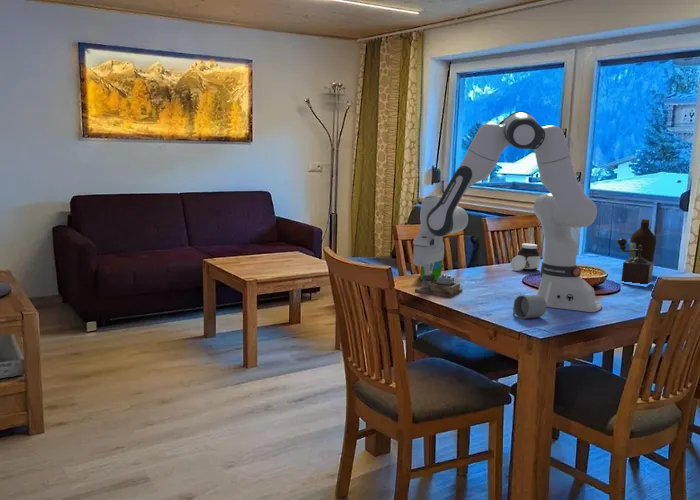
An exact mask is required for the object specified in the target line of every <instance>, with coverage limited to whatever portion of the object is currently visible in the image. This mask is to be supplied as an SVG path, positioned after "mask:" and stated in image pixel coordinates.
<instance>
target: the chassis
mask: <svg viewBox="0 0 700 500" xmlns="http://www.w3.org/2000/svg"><path fill="white" fill-rule="evenodd" d="M415 292H416V293H419V292H421V294H425V293H426V294H427V295H431V294H433V296H437V295H439V296H438V297H443V296H444V297H445V298H449V297H450V298H452V297H455V296H456V295H459V294H460V293H462V292H463V289H462V288H461V283H458V282H454V285H453V286H445V285H439V284H437V280H434V281H426V280H422V281H421V286H419V287H416V288H415V289H414V293H415ZM444 297H443V298H444Z"/></svg>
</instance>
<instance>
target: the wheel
mask: <svg viewBox="0 0 700 500" xmlns="http://www.w3.org/2000/svg"><path fill="white" fill-rule="evenodd" d="M422 279H423V280H426V281H434V282H435V281H436V280H435V275H432V274H431V275H425V274H423V276H422Z"/></svg>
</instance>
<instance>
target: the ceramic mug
mask: <svg viewBox="0 0 700 500" xmlns="http://www.w3.org/2000/svg"><path fill="white" fill-rule="evenodd" d="M513 302H514V303H513V307H512V312H513V313H514V314H515V315H516V317H518V319H521V320H525V319H533V318H534V319H536V318H540V317H543V316H544V315H545V313H546V311H547V306H546V302H545V300H544V299H543V298H542V297H541V296H537V294H536V295H535V294H534V295H533V294H532V295H531V294H529V295H528V294H527V295H526V294H520V295H518V296H516V297H515V300H514V301H513Z"/></svg>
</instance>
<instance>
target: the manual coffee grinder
mask: <svg viewBox="0 0 700 500" xmlns="http://www.w3.org/2000/svg"><path fill="white" fill-rule="evenodd" d="M627 243H628V241H627V239H626V238H619V239H617V245H618V246H619V248H618V249H619V250H621V251H622V252H624V253H625V252H626V253H629V252H634V251H639V254H638V257H635V258H632V259H629V258H628V259H626V260H625V261H623V263H622V272H621V273H622V274H621V281H624V282H632V283H640V284H648V283H650V282H651V281H652V280H653V275H654V274H653V271H654V267H655V262H649V261H647V260H646V259H644V258H642V256H641V250H642V245H639V248H638V249H636V250H630V249H627V247H626V244H627ZM621 281H620V282H621ZM651 283H652V282H651Z"/></svg>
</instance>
